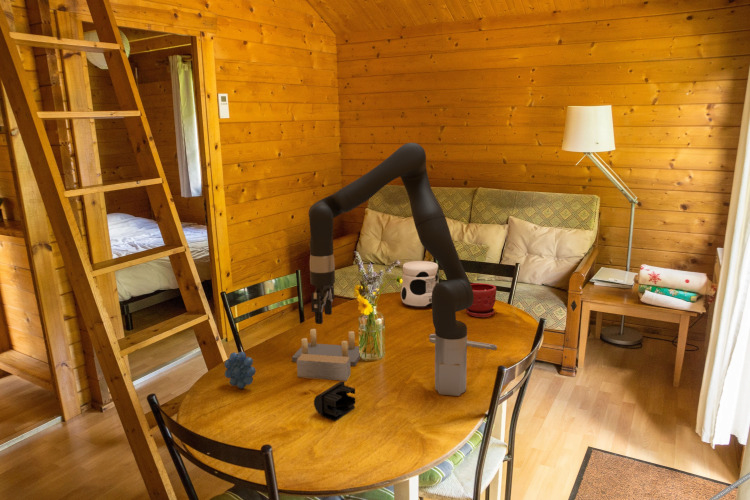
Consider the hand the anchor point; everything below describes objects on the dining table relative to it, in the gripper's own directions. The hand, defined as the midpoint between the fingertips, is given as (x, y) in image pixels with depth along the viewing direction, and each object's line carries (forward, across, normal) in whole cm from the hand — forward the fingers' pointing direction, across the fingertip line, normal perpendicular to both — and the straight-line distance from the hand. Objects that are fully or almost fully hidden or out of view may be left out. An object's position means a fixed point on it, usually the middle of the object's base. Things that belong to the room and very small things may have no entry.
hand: (323, 318), depth 172 cm
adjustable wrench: (+19, +33, -40) cm, 55 cm away
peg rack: (+19, +14, +4) cm, 24 cm away
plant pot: (+19, +68, -44) cm, 83 cm away
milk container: (+19, +76, -18) cm, 81 cm away
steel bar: (+19, -1, 0) cm, 19 cm away
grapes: (+19, -14, +22) cm, 32 cm away
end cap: (+19, -22, -11) cm, 31 cm away
